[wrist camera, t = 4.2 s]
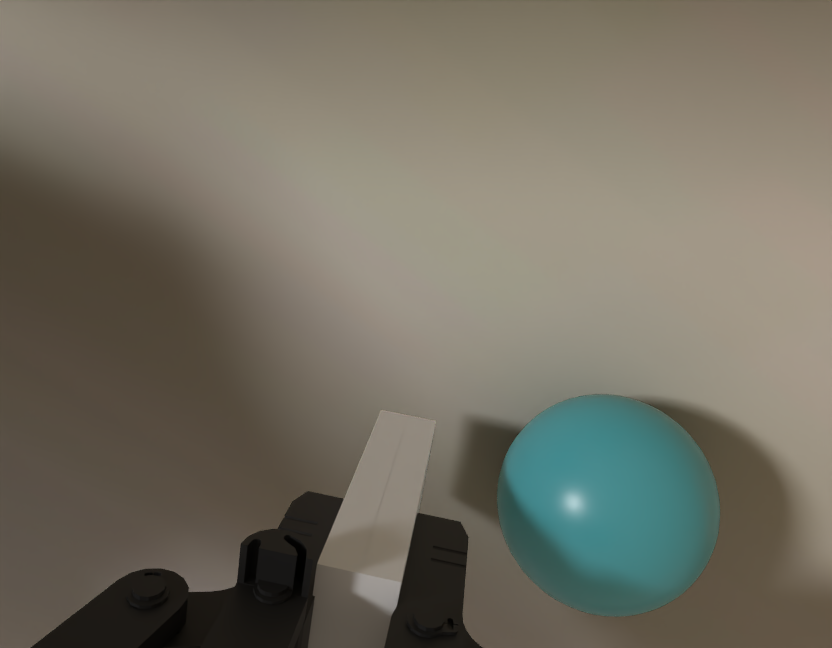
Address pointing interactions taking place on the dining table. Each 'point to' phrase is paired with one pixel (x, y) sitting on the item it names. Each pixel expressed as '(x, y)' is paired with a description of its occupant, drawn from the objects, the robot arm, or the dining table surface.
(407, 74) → the dining table surface
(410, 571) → the robot arm
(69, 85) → the dining table surface
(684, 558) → the ball
